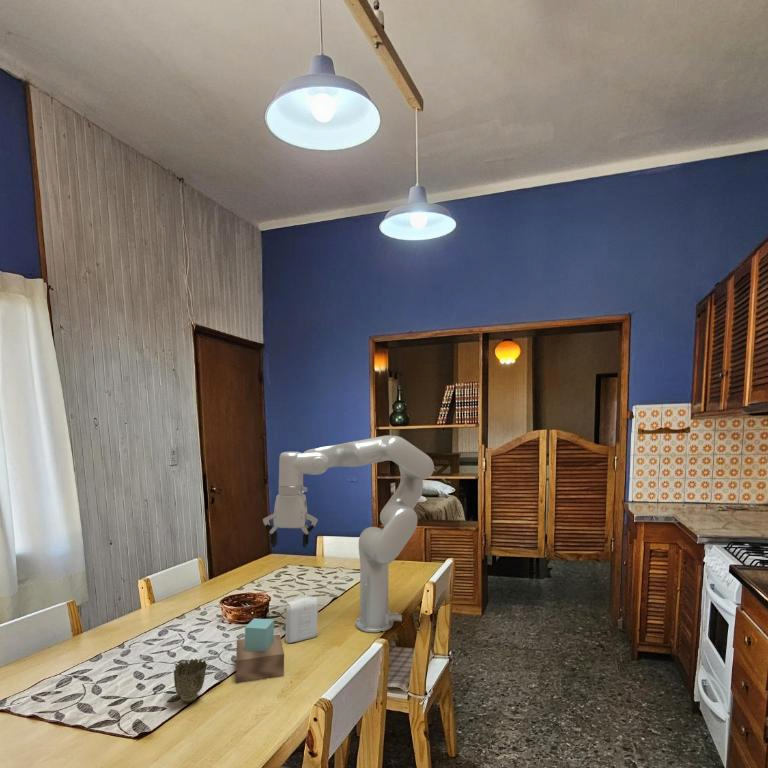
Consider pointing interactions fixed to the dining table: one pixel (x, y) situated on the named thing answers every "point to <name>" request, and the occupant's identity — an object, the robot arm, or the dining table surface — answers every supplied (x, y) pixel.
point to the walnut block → (259, 662)
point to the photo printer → (301, 619)
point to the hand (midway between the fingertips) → (289, 546)
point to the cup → (189, 679)
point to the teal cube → (259, 635)
